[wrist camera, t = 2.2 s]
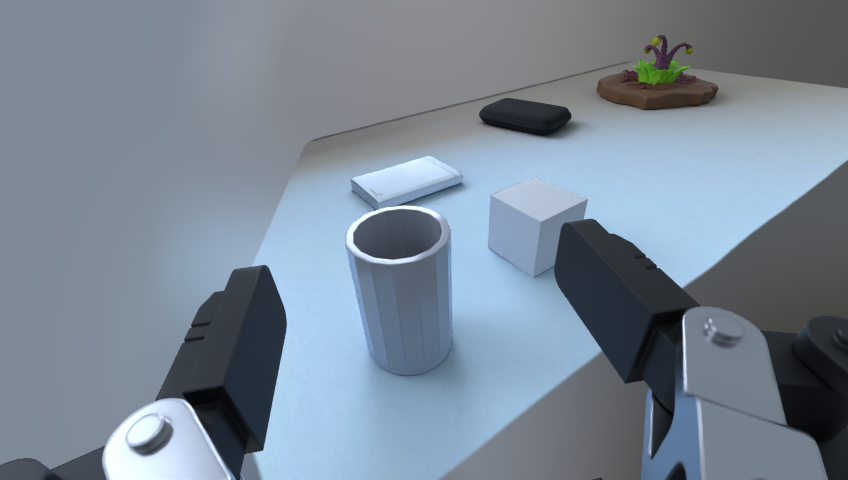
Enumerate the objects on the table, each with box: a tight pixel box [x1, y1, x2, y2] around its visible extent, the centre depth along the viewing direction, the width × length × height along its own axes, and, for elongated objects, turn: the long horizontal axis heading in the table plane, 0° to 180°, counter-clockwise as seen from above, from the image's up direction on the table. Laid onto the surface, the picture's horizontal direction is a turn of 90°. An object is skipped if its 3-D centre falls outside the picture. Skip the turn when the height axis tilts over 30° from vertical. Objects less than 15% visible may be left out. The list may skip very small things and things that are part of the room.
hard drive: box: [351, 156, 463, 210], centre depth 50 cm, size 2×8×12 cm
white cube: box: [488, 176, 588, 278], centre depth 35 cm, size 6×6×6 cm
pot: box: [346, 206, 453, 375], centre depth 26 cm, size 6×6×10 cm
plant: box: [597, 35, 718, 110], centre depth 75 cm, size 20×20×11 cm
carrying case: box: [479, 98, 571, 135], centre depth 67 cm, size 11×3×15 cm
